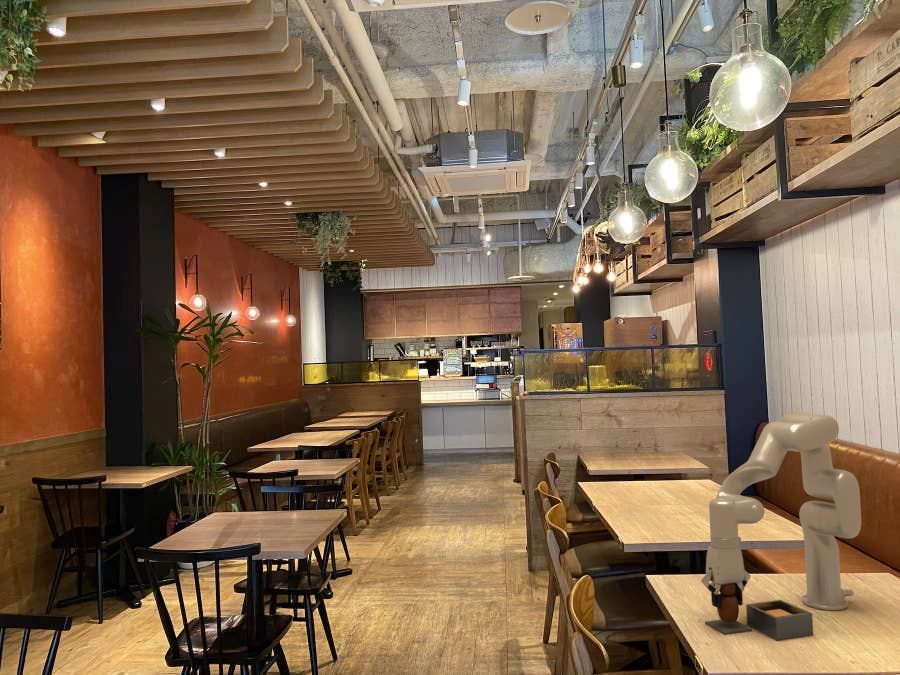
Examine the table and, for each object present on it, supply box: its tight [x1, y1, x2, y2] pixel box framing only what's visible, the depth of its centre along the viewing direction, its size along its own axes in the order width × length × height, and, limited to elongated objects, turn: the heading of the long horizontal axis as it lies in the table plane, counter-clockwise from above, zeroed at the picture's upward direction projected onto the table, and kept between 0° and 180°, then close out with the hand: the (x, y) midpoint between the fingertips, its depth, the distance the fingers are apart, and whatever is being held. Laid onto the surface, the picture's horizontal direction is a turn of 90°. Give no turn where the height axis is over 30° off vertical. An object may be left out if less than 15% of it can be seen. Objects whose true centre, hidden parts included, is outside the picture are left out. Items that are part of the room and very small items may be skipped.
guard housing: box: [745, 599, 814, 642], centre depth 195 cm, size 12×12×6 cm
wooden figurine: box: [716, 583, 740, 623], centre depth 198 cm, size 7×6×15 cm
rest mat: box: [704, 619, 753, 636], centre depth 198 cm, size 9×9×1 cm
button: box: [765, 609, 792, 617], centre depth 195 cm, size 7×7×2 cm
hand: (727, 604), depth 198 cm, fingers closed on wooden figurine, 6 cm apart
